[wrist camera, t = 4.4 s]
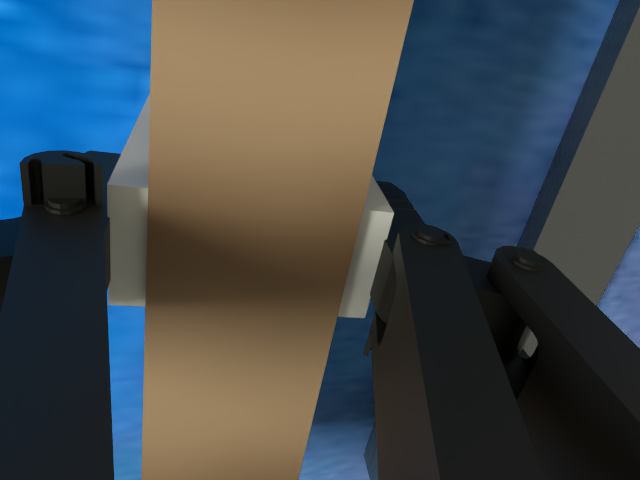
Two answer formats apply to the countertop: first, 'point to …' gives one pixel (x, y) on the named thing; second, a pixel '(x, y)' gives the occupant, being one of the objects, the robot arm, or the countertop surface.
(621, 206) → the bracket stand
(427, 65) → the countertop surface
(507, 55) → the countertop surface
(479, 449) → the robot arm
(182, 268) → the rail
